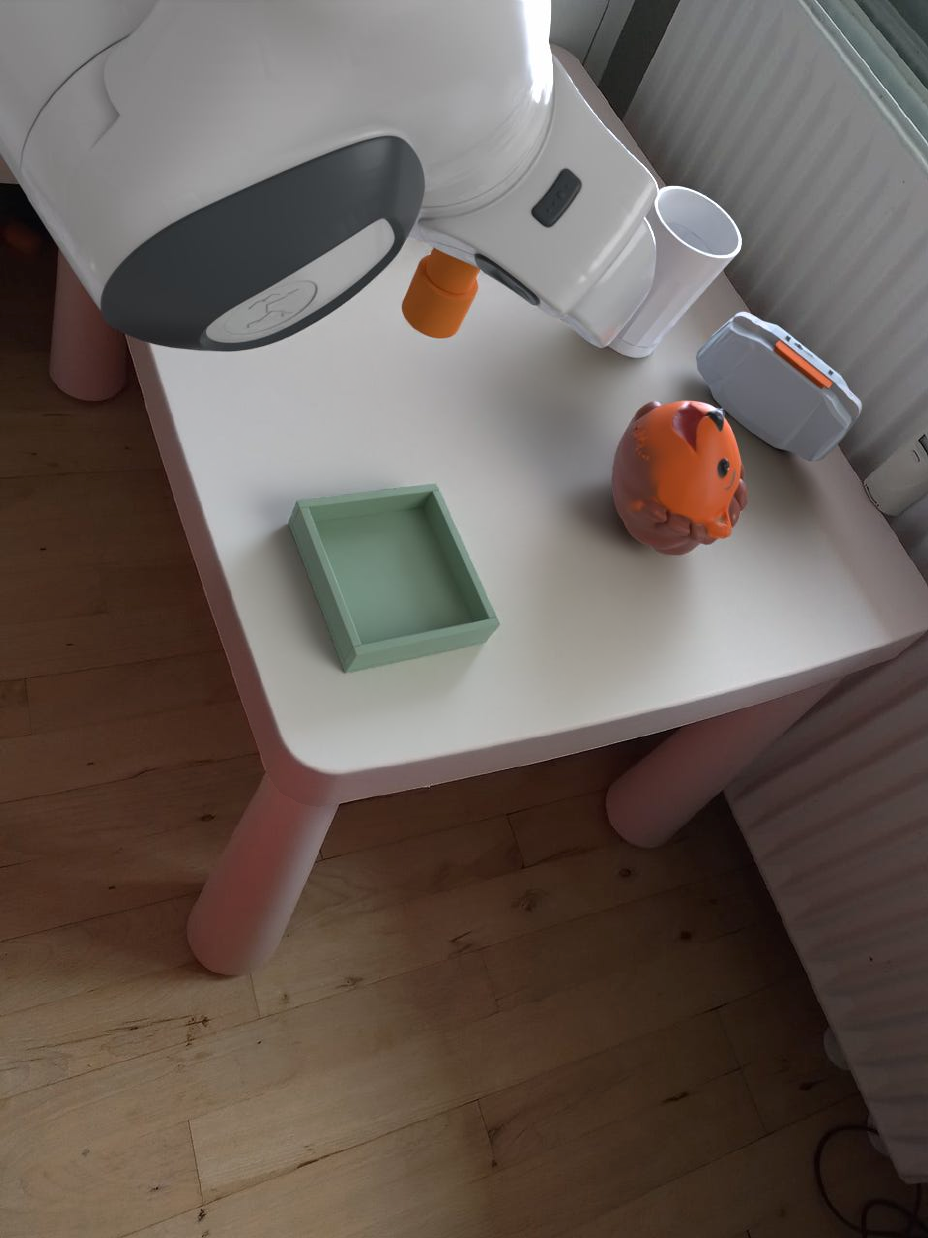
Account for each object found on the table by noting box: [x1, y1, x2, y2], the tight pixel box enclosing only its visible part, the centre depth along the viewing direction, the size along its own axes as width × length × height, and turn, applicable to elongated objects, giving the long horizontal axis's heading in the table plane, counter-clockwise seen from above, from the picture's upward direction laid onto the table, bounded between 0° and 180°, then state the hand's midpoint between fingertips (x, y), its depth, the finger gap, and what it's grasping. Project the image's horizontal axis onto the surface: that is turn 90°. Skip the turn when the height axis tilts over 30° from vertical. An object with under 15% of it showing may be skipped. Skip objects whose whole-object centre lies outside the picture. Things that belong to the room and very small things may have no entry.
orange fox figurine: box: [611, 400, 749, 557], centre depth 71 cm, size 12×10×11 cm
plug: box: [401, 247, 481, 340], centre depth 52 cm, size 4×4×12 cm
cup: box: [607, 185, 742, 359], centre depth 82 cm, size 8×8×12 cm
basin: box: [287, 483, 501, 674], centre depth 63 cm, size 11×10×2 cm
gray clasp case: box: [695, 311, 863, 463], centre depth 84 cm, size 14×3×8 cm, turn 56°
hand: (474, 229), depth 52 cm, fingers closed on plug, 3 cm apart
